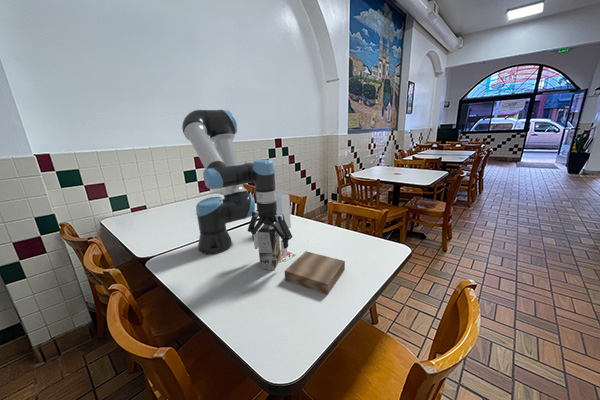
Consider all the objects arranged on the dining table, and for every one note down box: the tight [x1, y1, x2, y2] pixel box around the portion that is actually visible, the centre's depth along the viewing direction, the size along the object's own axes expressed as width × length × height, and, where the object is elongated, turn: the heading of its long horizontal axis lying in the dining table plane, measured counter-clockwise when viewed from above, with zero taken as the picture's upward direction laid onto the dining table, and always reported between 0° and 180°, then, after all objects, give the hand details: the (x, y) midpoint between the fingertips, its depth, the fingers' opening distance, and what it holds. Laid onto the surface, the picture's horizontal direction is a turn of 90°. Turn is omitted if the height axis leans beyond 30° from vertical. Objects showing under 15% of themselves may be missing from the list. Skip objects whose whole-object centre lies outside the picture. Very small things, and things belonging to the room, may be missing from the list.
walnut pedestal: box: [284, 250, 346, 295], centre depth 91 cm, size 17×16×4 cm
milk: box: [275, 188, 292, 229], centre depth 132 cm, size 6×6×22 cm
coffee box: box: [257, 223, 282, 271], centre depth 98 cm, size 9×6×16 cm
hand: (270, 251), depth 98 cm, fingers open, 13 cm apart
